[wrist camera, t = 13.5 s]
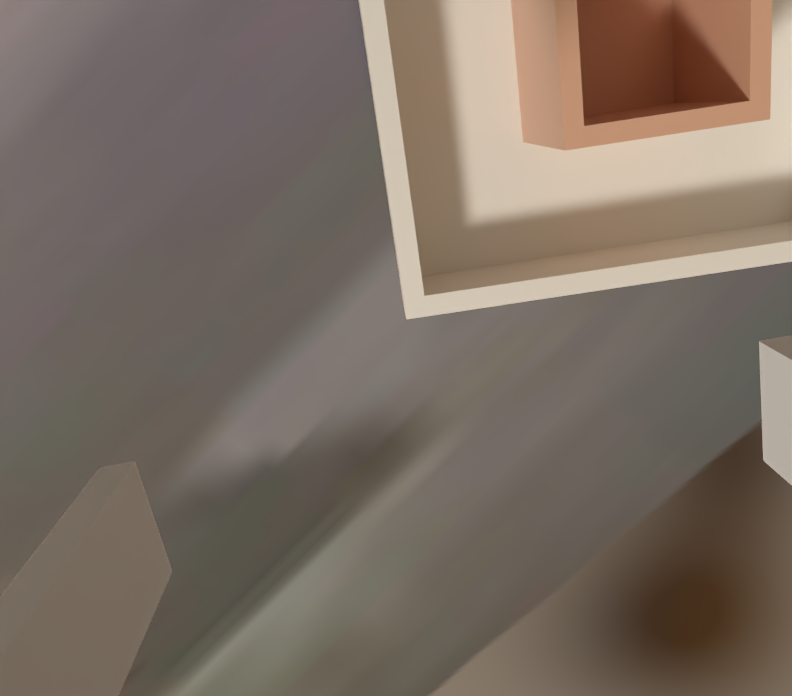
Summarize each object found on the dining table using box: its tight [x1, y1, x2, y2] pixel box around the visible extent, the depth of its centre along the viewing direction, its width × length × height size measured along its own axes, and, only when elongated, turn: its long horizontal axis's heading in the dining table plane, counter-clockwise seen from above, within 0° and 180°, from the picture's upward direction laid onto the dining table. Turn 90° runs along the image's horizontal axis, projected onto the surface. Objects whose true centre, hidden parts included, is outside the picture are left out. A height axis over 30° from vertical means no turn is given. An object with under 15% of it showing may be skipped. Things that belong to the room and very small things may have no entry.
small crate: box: [511, 0, 773, 151], centre depth 30 cm, size 8×8×8 cm
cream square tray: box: [358, 0, 792, 319], centre depth 33 cm, size 22×22×5 cm
